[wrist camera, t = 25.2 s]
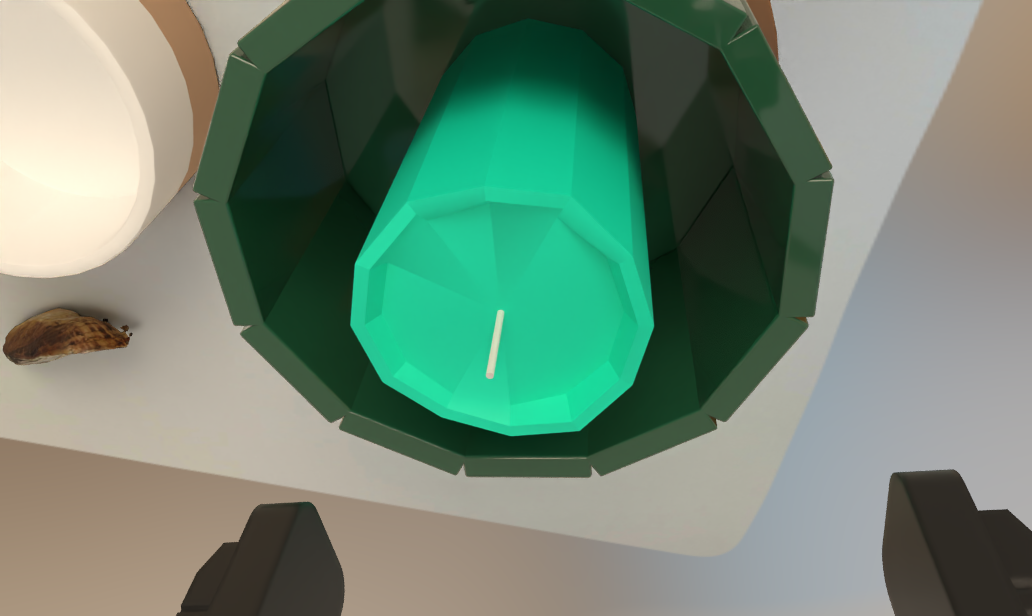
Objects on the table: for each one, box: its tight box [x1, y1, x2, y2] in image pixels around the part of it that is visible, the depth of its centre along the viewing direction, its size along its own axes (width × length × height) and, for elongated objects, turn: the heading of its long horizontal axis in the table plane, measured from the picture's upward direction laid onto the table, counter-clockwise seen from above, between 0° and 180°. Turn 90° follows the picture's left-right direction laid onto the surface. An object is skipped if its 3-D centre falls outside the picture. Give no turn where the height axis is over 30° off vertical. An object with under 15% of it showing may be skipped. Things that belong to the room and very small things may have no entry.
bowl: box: [0, 0, 219, 278], centre depth 43 cm, size 17×17×8 cm
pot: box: [193, 0, 834, 478], centre depth 20 cm, size 22×14×9 cm, turn 5°
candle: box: [350, 18, 654, 436], centre depth 20 cm, size 6×6×12 cm
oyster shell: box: [3, 308, 133, 365], centre depth 56 cm, size 6×4×10 cm
